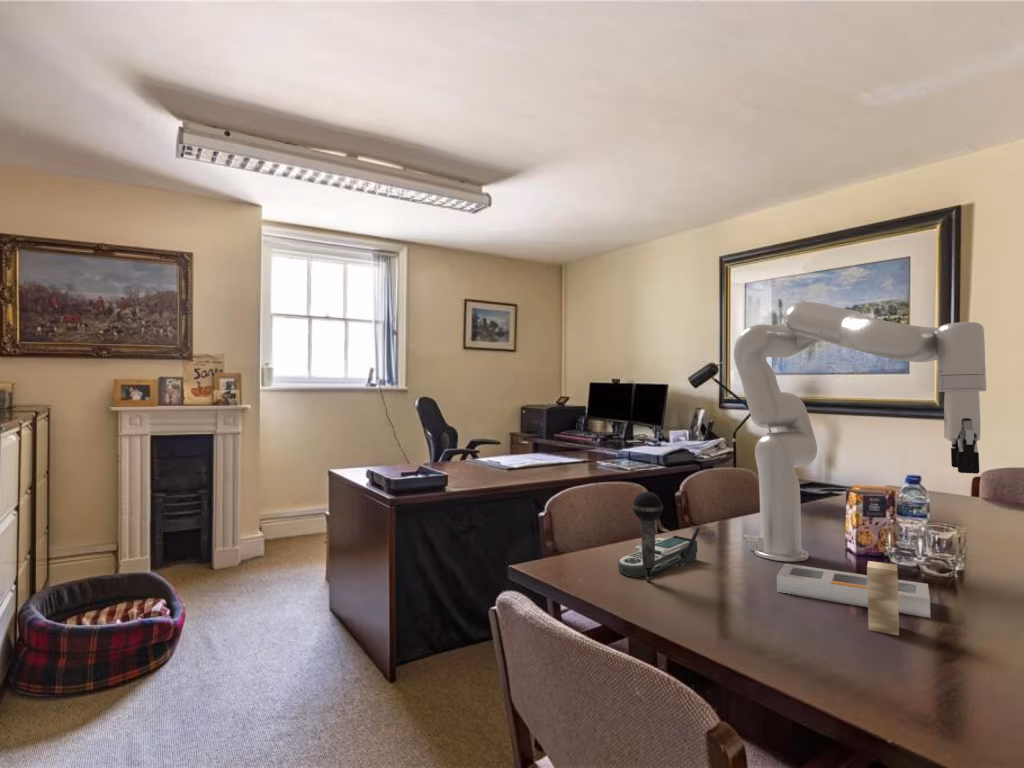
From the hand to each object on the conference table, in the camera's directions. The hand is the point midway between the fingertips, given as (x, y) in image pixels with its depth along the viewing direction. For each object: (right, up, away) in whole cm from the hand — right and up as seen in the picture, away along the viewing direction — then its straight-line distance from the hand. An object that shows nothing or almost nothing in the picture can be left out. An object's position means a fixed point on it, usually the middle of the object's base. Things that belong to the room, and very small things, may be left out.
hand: (964, 470), depth 113 cm
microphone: (-60, -27, +14) cm, 67 cm away
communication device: (-56, -28, +26) cm, 67 cm away
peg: (-25, -26, -13) cm, 38 cm away
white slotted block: (-21, -26, +3) cm, 34 cm away
